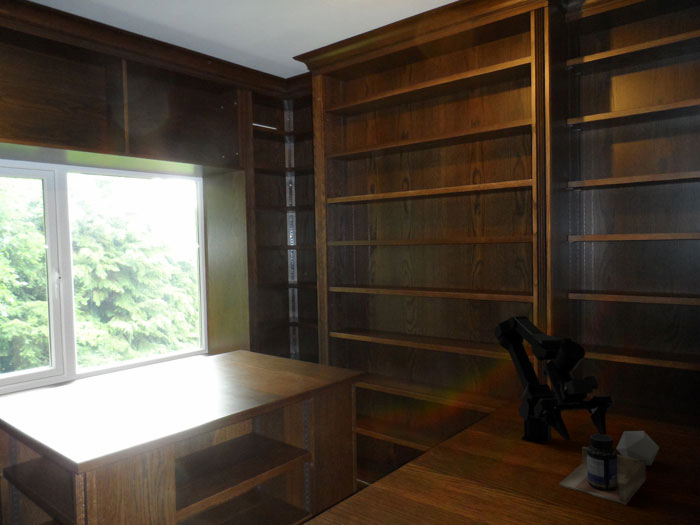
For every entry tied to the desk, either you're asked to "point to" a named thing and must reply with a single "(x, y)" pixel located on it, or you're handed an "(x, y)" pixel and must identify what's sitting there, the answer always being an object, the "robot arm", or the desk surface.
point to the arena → (628, 479)
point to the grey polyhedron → (638, 446)
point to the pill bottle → (602, 463)
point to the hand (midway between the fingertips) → (586, 439)
